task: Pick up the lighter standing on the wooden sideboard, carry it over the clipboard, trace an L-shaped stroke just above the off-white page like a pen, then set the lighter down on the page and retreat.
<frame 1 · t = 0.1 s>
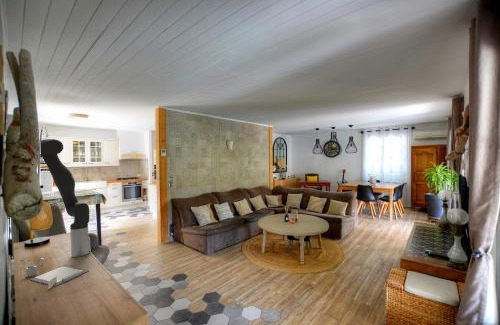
clipboard: (60, 275, 123), on the table
lighter: (35, 274, 125), on the table
cream rectangular slab: (52, 285, 113), on the table
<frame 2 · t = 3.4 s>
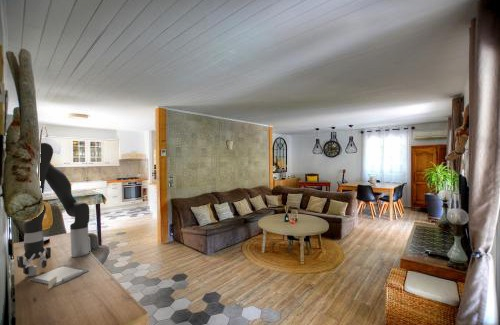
hand: (35, 270, 125), 2 cm above the table, fingers closed on lighter, 7 cm apart
lighter: (35, 274, 125), on the table, touching gripper
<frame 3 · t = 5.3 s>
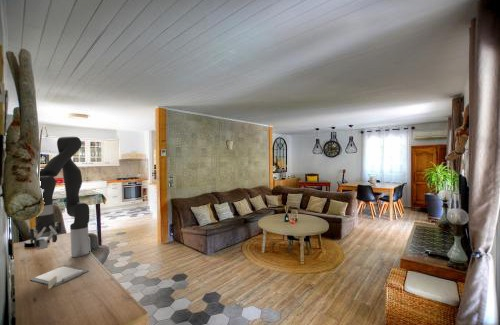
hand: (46, 244, 125), 16 cm above the table, fingers closed on lighter, 7 cm apart
lighter: (46, 248, 126), point 14 cm above the table, touching gripper
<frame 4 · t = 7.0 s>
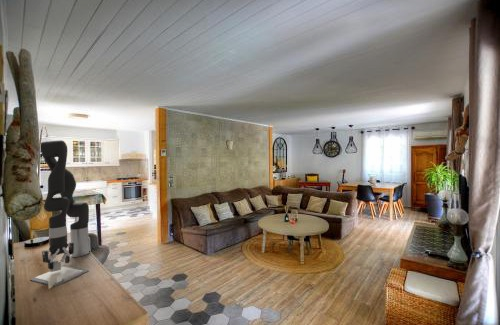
hand: (59, 266, 126), 4 cm above the table, fingers closed on lighter, 7 cm apart
lighter: (59, 269, 126), point 2 cm above the table, touching gripper
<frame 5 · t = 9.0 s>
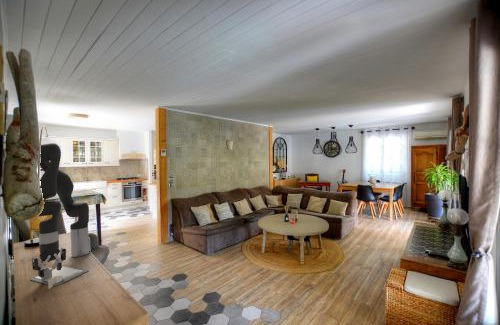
hand: (50, 273, 119), 3 cm above the table, fingers closed on lighter, 7 cm apart
lighter: (50, 277, 119), point 1 cm above the table, touching gripper
when the fingers open (3 cm above the table, at t = 10.8 s): lighter stays where it is, resting on clipboard.
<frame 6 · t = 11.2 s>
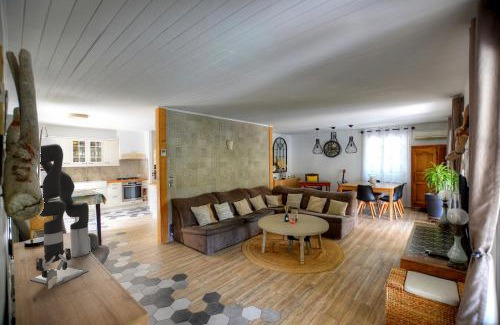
hand: (55, 273, 118), 3 cm above the table, fingers open, 8 cm apart
lighter: (55, 278, 118), point 1 cm above the table, touching clipboard
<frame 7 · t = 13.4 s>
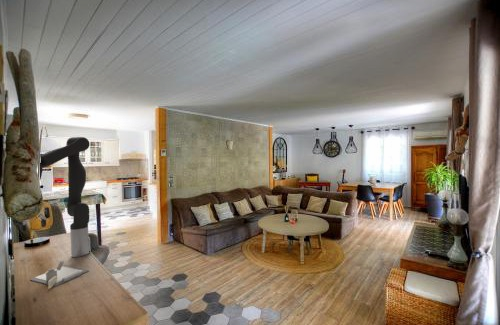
hand: (34, 229, 125), 24 cm above the table, fingers open, 8 cm apart
nothing on the table moved.
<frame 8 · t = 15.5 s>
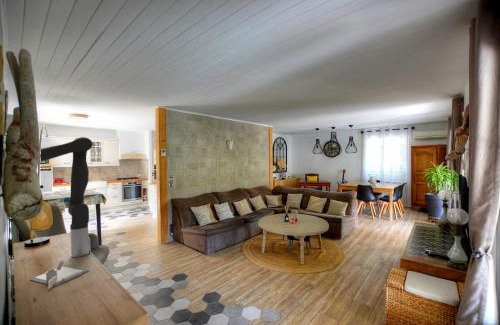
hand: (22, 219, 130), 28 cm above the table, fingers open, 8 cm apart
nothing on the table moved.
at the end: lighter inside the target area on the clipboard (4.8 cm from its centre), point 0.6 cm above the clipboard's base; lighter touching clipboard; the gripper is holding nothing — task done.
